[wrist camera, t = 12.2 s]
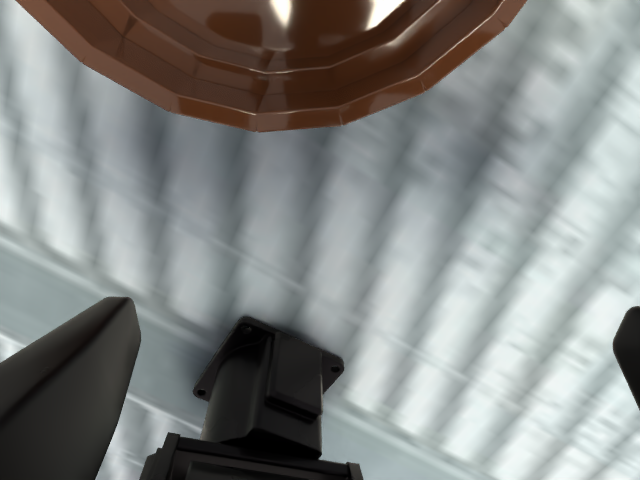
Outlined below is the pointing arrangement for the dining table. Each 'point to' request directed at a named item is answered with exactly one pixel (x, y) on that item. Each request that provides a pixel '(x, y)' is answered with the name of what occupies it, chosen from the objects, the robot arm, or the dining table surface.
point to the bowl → (274, 52)
